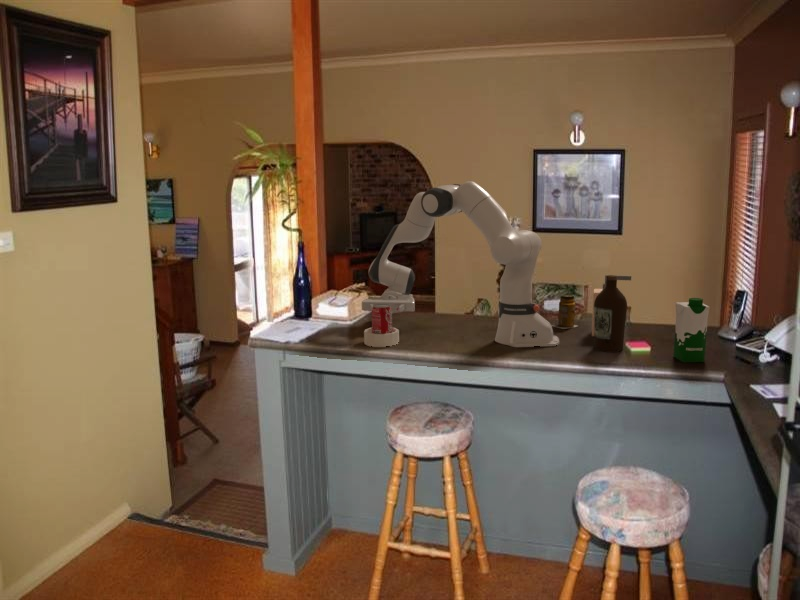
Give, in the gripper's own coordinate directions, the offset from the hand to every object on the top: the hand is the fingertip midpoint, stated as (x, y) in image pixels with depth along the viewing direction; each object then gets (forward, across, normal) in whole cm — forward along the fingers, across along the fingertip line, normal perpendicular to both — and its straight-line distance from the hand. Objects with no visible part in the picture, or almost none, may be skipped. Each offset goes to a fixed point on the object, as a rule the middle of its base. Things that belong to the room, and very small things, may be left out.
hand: (385, 309), depth 262 cm
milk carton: (+27, +101, +10) cm, 105 cm away
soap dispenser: (-5, +82, +10) cm, 83 cm away
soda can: (+14, 0, +9) cm, 17 cm away
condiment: (-18, +67, +10) cm, 70 cm away
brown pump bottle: (+15, +78, +10) cm, 80 cm away
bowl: (+13, 0, +10) cm, 16 cm away
